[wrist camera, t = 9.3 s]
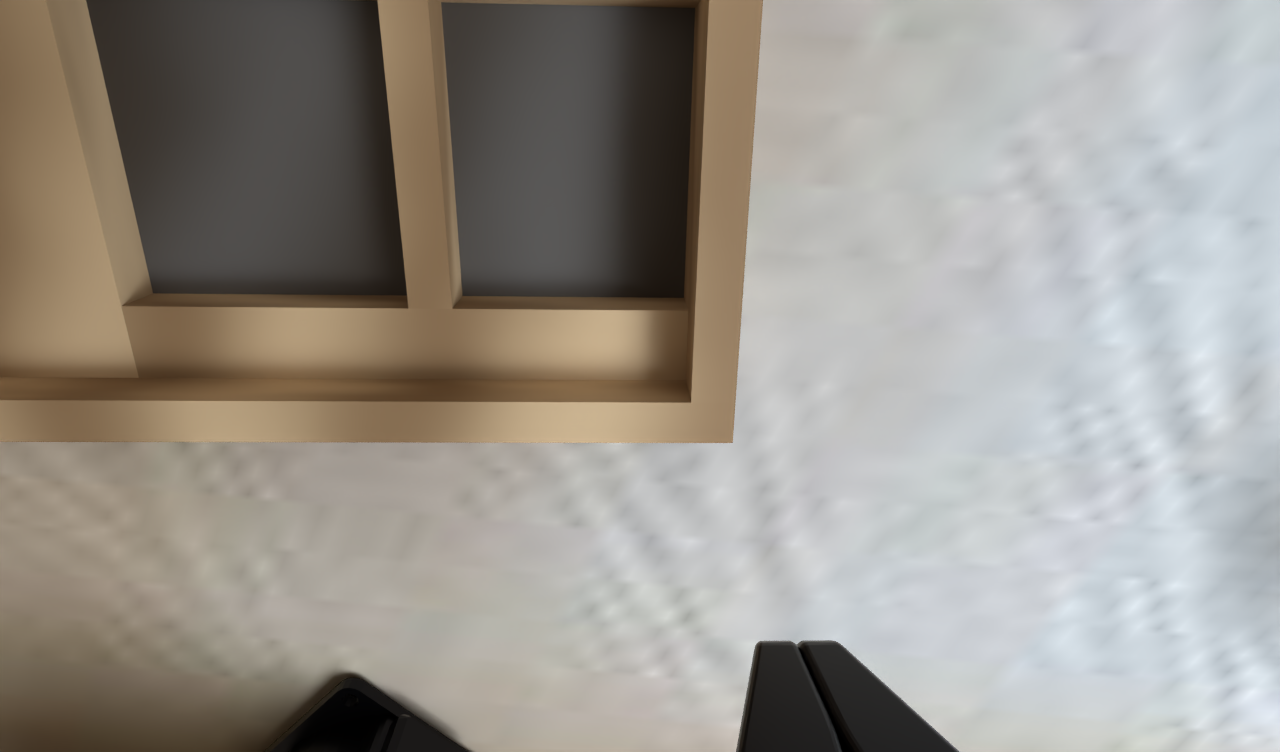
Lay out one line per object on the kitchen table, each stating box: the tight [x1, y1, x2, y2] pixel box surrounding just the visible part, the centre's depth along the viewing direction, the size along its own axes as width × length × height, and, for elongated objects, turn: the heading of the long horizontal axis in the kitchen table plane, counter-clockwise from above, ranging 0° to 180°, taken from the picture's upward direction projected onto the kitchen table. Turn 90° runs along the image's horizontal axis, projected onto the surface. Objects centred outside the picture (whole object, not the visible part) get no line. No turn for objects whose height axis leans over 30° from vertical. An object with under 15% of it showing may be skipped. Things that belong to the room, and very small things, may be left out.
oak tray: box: [0, 0, 763, 443], centre depth 15 cm, size 30×12×3 cm, turn 89°
